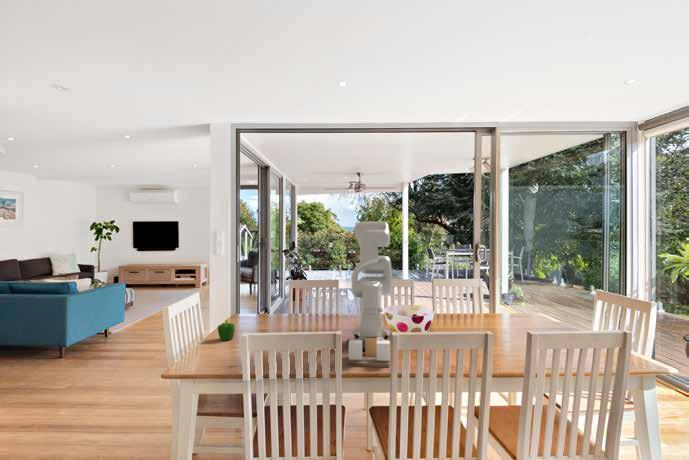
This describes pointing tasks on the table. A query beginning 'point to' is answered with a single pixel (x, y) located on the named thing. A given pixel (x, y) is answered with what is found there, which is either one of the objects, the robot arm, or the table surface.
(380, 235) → the robot arm
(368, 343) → the block
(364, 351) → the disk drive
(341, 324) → the table surface
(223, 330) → the bell pepper
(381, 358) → the rail board
